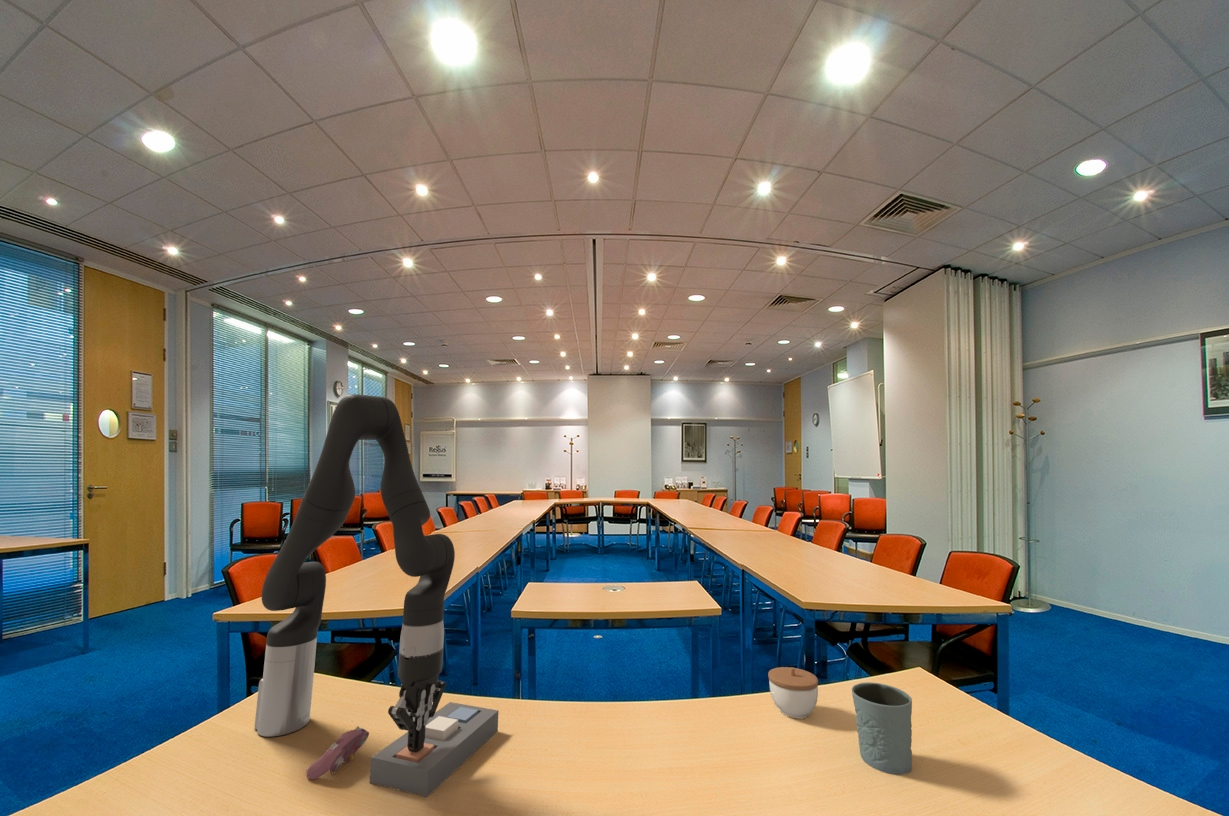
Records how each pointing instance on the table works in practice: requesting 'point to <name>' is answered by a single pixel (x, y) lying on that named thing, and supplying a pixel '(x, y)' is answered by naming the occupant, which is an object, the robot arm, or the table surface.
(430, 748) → the terracotta key
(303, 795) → the table surface
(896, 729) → the grey embossed vase
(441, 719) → the off-white key
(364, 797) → the table surface
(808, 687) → the lidded jar
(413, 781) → the key console
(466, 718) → the slate blue key
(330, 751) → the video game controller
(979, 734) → the table surface
